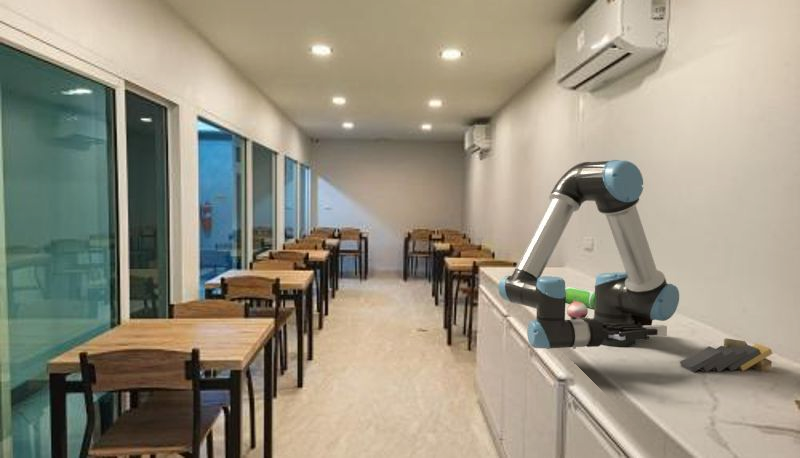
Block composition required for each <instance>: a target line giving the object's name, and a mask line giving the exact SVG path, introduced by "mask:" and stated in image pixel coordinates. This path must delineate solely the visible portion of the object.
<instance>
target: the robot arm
mask: <svg viewBox="0 0 800 458" xmlns="http://www.w3.org/2000/svg"><path fill="white" fill-rule="evenodd" d="M643 186H644V179H643V175H642V173H641V170H640V169H639V168H638V166H637V165H636V164H634V163H633V162H630V161H628V160H619V159H611V160H605V161H584V162H580V163H577V164H576V165H574V166H572V167H571V168H570V169H568V170H567V171H566V172H565V173H564V174H563V175H562V176H561V177H560V178H559V180H558V181H557V182H556V184H555V185H554V187H553V189H552V191H551V192H550V194H549V196H548V198H549V203H548V205H547V207H546V208H545V210H544V213H543V215H542V217H541V218H540V221H539V222H538V225H537V227H536V228H535V230H534V233H532V236H531V238H530V240H529V241H528V243H527V245H526V248H525V249H524V252H523V254H522V255H521V257H520V259H519V261H518V263H517V265H516V267H515V269H514V271H513V273H512V275H506V276H504V277H502V278H501V279H500V281H499V283H498V289H497V290H498V295H499V296H500V297H501V298H502V299H503V300H505V301H508V302H510V303H513V304H518V305H521V306H522V305H523V306H525V307H528V308H532V309H536V319H535V320H531V321H530V322H528V324H527V329H526V334H527V335H526V336H527V340H528V343H529V346H531V347H532V348H533V349H547V350H549V349H563V348H565V349H566V348H568V349H569V348H572V350H576V349H577V348H585V347H587V348H591V347H592V348H593V347H594V348H595V347H597V348H598V347H600V346H602V345H605V346H613V347H630V346H634V345H636V343H637V341H644V340H646V339H647V336H650V337H665V336H668V326H667V325H666V324H652V325H645V326H642V327H641V323H637V325H635V324H633V323H632V321H631V314H632V315H636V316H640V317H644V318H648V319H652V321H655V320H656V321H660V322H664V321H668V320H669V319H671V318H672V317H673V316H674V314H675V312H676V311H677V309H678V306H679V304H680V303H679V301H680V291H679V288H678V287H677V286H676V285H674V284H672V283H668V282H667V279H666V277H665V274H664V272H662V271H660V270H658V269H657V267H656V263H655V260H654V258H653V253H652V251H651V248H650V245H649V242H648V239H647V236H646V232H645V230H644V227H643V223H642V221H641V218H640V215H639V211H638V209H637V205H638V203H639V202H640V197H641V195H642V193H643V190H644V187H643ZM587 201H588V202H595V205H596V208H597V211H598V212H599V213H600V214H603V215H605V216H606V219H607V222H608V226H609V228H610V231H611V234H612V236H613V239H614V242H615V245H616V248H617V251H618V254H619V256H620V260H621V262H622V265H623V268H624V270H625V272H604V273H599V274H597V275H596V277H595V285H594V292H595V307H594V314H593V318H582V319H583V320H582V319H575V320H572V319H566V302H565V300H566V292H565V287H566V281H565V279H564V278H562V277H559V276H552V275H551V276H550V275H547V276H546V275H545V276H542V274H543V273H544V270H545V269H546V267H547V265H548V262H549V260H551V259H550V258H551V257H552V255H553V252H554V251H555V249H556V247H557V245H558V243H559V242H560V239H561V237H562V236H563V233H564V231H565V229H566V227H567V225H568V223H569V221H570V219H571V218H572V216H573V213H574V212H578V211H579V209H580V208H581V206H582V204H583V203H585V202H587ZM643 339H644V340H643Z"/></svg>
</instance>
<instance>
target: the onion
mask: <svg viewBox="0 0 800 458" xmlns="http://www.w3.org/2000/svg"><path fill="white" fill-rule="evenodd" d="M588 309H589V308H587V307H586V306H585V305H584V304H583V303H581V302H578V301H573V303H571V304H569V305H568V307H567V309H566V314H567V316H568V317H569V318H570V319H571V320H575V319H582V320H584V319H588V317H589V315H588V314H589V313H588V312H589V310H588Z"/></svg>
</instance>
